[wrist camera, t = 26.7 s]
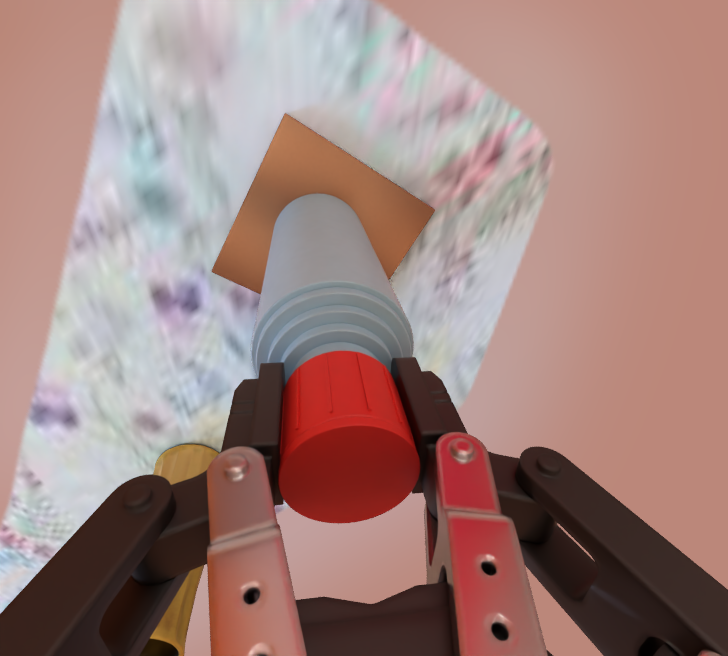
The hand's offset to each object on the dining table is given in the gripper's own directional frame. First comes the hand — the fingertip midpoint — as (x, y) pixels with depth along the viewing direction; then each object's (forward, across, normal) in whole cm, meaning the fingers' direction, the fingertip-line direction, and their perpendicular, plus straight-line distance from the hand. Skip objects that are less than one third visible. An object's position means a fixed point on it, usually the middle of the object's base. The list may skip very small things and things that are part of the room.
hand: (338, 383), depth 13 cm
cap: (-1, 0, 0) cm, 1 cm away
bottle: (+16, 0, 0) cm, 16 cm away
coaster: (+16, 0, 0) cm, 16 cm away
